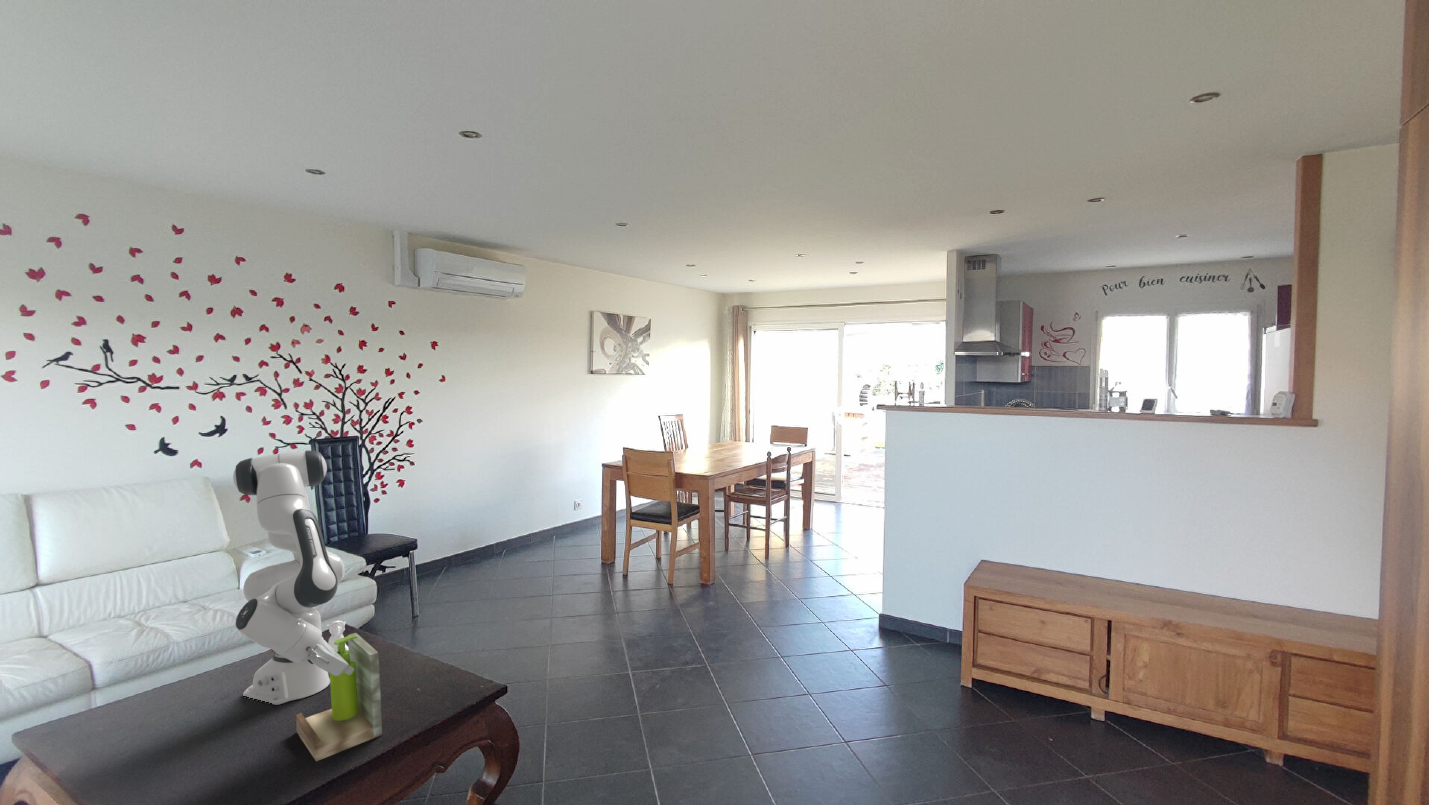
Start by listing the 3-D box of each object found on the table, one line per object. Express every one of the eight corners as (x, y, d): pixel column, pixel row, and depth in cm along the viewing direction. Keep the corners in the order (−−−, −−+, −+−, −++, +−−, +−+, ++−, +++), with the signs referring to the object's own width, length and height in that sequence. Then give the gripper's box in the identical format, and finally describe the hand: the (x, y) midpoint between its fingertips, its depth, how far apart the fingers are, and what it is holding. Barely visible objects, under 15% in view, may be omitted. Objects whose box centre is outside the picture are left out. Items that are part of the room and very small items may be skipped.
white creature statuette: (323, 666, 201) (322, 629, 201) (317, 657, 207) (315, 622, 207) (356, 656, 208) (355, 621, 207) (349, 648, 214) (348, 614, 213)
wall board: (316, 761, 152) (311, 673, 151) (296, 732, 164) (292, 651, 163) (382, 734, 163) (378, 652, 162) (359, 709, 175) (355, 632, 174)
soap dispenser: (366, 709, 167) (362, 635, 166) (341, 722, 160) (337, 646, 160) (352, 705, 169) (348, 632, 168) (327, 718, 163) (322, 642, 162)
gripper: (324, 643, 151) (369, 668, 159) (301, 620, 165) (344, 644, 173) (303, 668, 148) (351, 692, 156) (282, 642, 162) (326, 665, 170)
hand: (347, 666), depth 165 cm, fingers closed on soap dispenser, 6 cm apart
